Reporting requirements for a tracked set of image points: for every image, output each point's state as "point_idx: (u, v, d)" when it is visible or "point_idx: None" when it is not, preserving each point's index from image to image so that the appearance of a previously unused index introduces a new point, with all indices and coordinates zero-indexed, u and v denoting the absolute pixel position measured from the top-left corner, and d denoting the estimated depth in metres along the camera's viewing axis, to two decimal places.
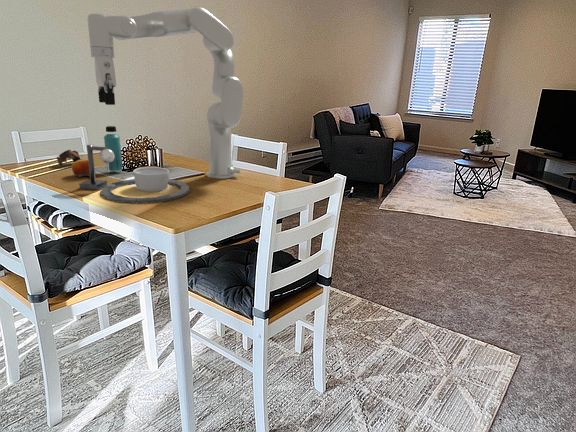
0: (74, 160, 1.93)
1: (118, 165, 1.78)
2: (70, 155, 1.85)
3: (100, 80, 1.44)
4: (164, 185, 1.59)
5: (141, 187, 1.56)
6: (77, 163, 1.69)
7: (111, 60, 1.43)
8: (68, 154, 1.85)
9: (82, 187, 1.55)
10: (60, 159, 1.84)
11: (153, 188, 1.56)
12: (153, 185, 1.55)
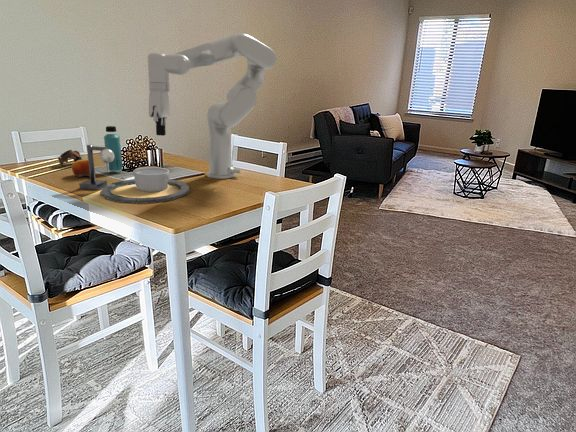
0: (75, 160, 1.93)
1: (118, 165, 1.78)
2: (71, 155, 1.85)
3: (168, 111, 1.66)
4: (164, 185, 1.59)
5: (141, 187, 1.56)
6: (77, 163, 1.69)
7: None
8: (69, 154, 1.85)
9: (82, 187, 1.55)
10: (61, 159, 1.84)
11: (153, 188, 1.56)
12: (153, 185, 1.55)
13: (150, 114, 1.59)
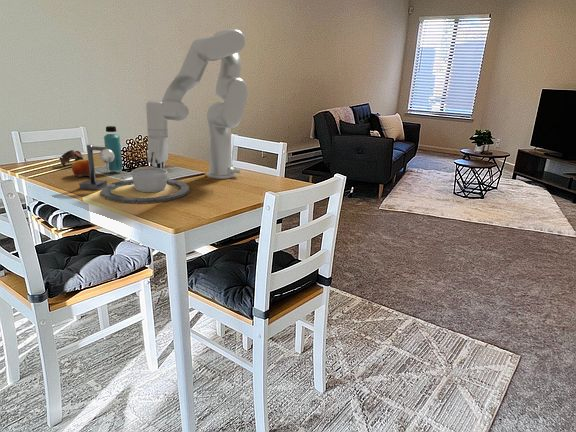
0: (77, 160, 1.93)
1: (118, 165, 1.78)
2: (73, 155, 1.85)
3: (167, 155, 1.68)
4: (162, 186, 1.57)
5: (139, 188, 1.54)
6: (77, 163, 1.69)
7: None
8: (71, 154, 1.85)
9: (82, 187, 1.55)
10: (63, 159, 1.84)
11: (151, 189, 1.54)
12: (151, 186, 1.54)
13: (149, 160, 1.61)
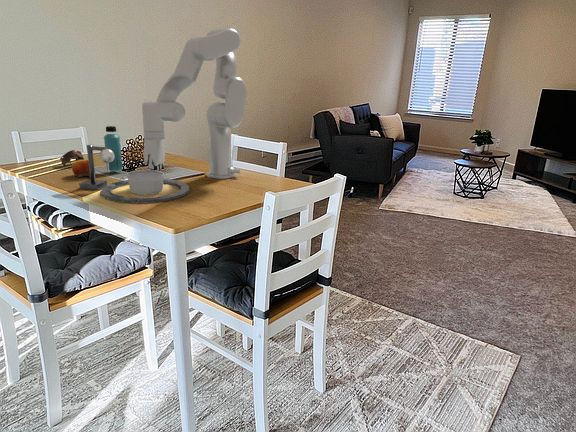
0: (77, 160, 1.93)
1: (118, 165, 1.78)
2: (74, 155, 1.85)
3: (164, 157, 1.65)
4: (159, 188, 1.54)
5: (135, 190, 1.51)
6: (77, 163, 1.69)
7: None
8: (72, 154, 1.85)
9: (82, 187, 1.55)
10: (64, 159, 1.84)
11: (147, 192, 1.51)
12: (147, 188, 1.50)
13: (145, 162, 1.58)
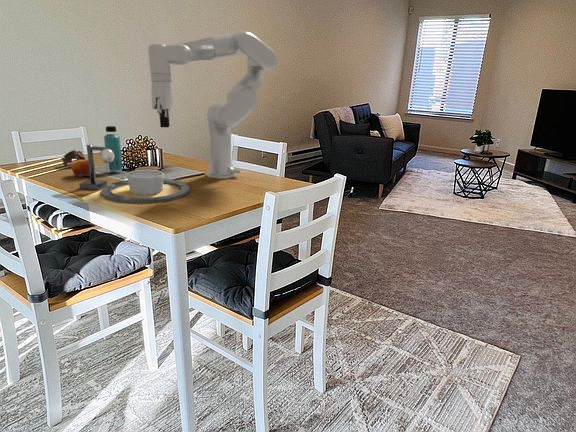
0: None
1: (118, 165, 1.78)
2: (75, 156, 1.85)
3: (171, 102, 1.65)
4: (158, 188, 1.54)
5: (135, 190, 1.51)
6: (77, 163, 1.69)
7: None
8: (73, 155, 1.84)
9: (82, 187, 1.55)
10: (65, 160, 1.84)
11: (147, 192, 1.51)
12: (147, 188, 1.50)
13: (153, 106, 1.58)
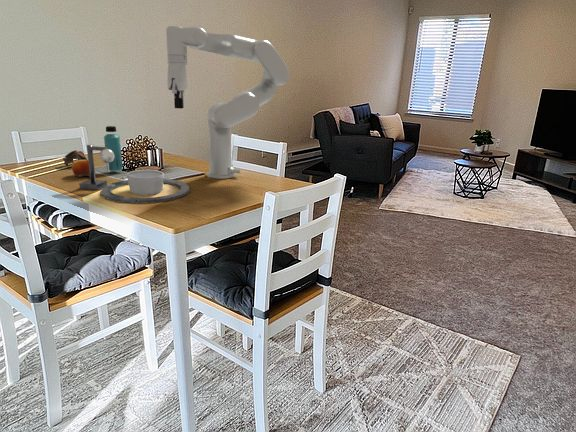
0: None
1: (118, 165, 1.78)
2: (77, 156, 1.85)
3: (186, 84, 1.69)
4: (158, 188, 1.54)
5: (135, 190, 1.51)
6: (77, 163, 1.69)
7: None
8: (75, 155, 1.84)
9: (82, 187, 1.55)
10: (67, 160, 1.83)
11: (147, 192, 1.51)
12: (147, 189, 1.50)
13: (169, 86, 1.62)
